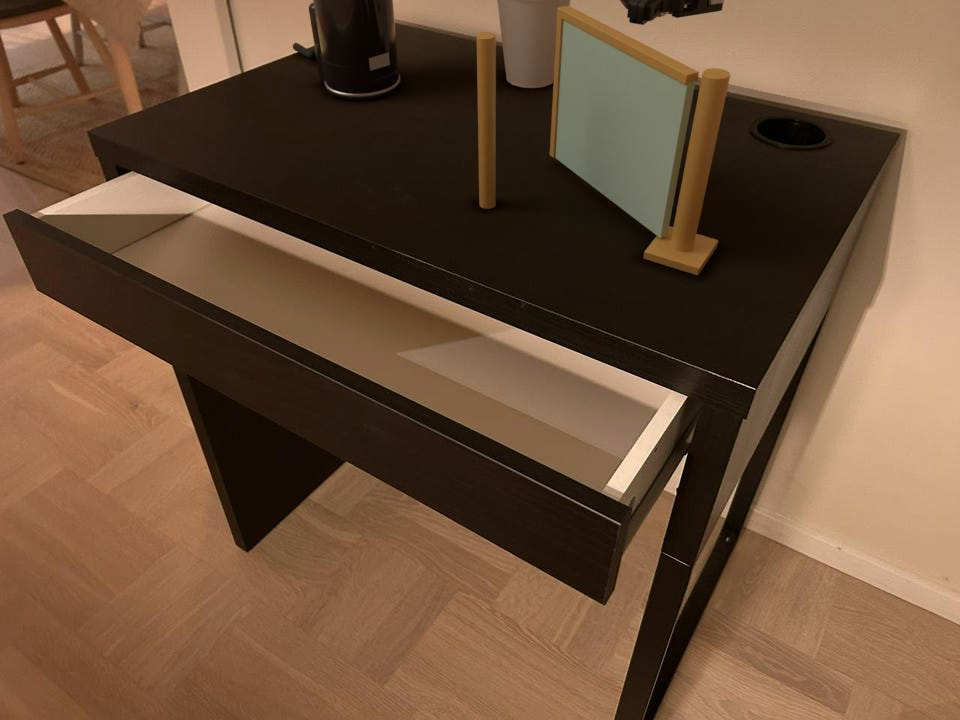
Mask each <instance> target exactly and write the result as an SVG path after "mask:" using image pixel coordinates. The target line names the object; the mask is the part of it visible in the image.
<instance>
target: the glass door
mask: <svg viewBox="0 0 960 720" xmlns="http://www.w3.org/2000/svg"><path fill="white" fill-rule="evenodd" d="M699 75H700V72H699V71H698V70H695V69H694V68H692V67H690V66H688V65H686V64H684V63H682V62H681V61H678V60H676V59H674V58H672V57H670V56H668V55H666V54H664V53H663V52H660V51H659V50H656V49H655V48H653V47H651V46H648V45H647V44H645V43H643V42H640V41H639V40H637V39H635V38H633V37H631V36H629V35H627V34H625V33H623V32H621V31H619V30H618V29H615V28H613V27H611V26H609V25H608V24H605V23H603V22H602V21H599V20H597V19H595V18H593V17H591V16H590V15H587V14H586V13H584V12H582V11H580V10H578V9H576V8H574V7H572V6H564V7H559V8H558V9H557V28H556V47H555V66H554V82H553V83H552V85H553V87H552V103H551V121H550V122H551V123H550V124H551V125H550V142H549V156H550V157H551V158H553V159H556V160H557V161H558V162H560V163H561V164H562V165H564V166H565V167H566V168H568V169H569V170H570V171H572V172H573V173H574V174H576V175H577V177H580V178H581V179H582V181H585V182H586V183H587V184H588V185H590V186H591V187H592V188H594V189H595V190H596V191H597V192H599V193H600V194H602V195H603V196H604V197H606V198H607V199H608V200H609V201H611V202H612V203H613V204H615V205H616V206H617V207H619V208H620V209H621V210H622V211H624V212H625V213H626V214H628V215H629V216H630V217H632V218H633V219H634V220H636V221H637V222H638V223H640V224H641V225H642V226H644V227H645V228H646V229H647V230H649V231H650V232H651V233H653V234H654V235H656V236H658V237H659V238H662V237H665V236H667V234H668V229H669V226H670V222H671V218H672V211H673V207H674V201H675V196H676V190H677V184H678V180H679V179H678V178H679V173H680V169H681V163H682V158H683V152H684V147H685V142H686V141H685V140H686V136H687V131H688V124H689V119H690V114H691V109H692V104H693V97H694V91H695V86H696V83H697V82H698V79H699Z"/></svg>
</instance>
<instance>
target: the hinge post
mask: <svg viewBox="0 0 960 720" xmlns="http://www.w3.org/2000/svg"><path fill="white" fill-rule="evenodd" d="M730 79H731V73H730V72H729V71H728V70H726V69H723V68H717V67H716V68H715V67H712V68H711V67H710V68H706V69H704V70H703V71H702V74H701V79H700V84H699V90H698V95H697V99H696V100H697V101H696V105H695V110H694V115H693V120H692V127H691V131H690V132H691V133H690V138H689V142H688V147H687V153H686V158H685V163H684V170H683V175H682V180H681V185H680V186H681V187H680V190H679V195H678V200H677V206H676V212H675V216H674V222H673V226H670V225H669V229H668V234H667V236H665V237H662V238H659V237H658V236H657V235H656V236H655V237H654V239H652V241H651V242H650V244H649V245H648V246H647V247H646V249H645V250H644V252H643V258H642V259H644V260H646V261H650V262H654V263H656V264H659V265H663V266H665V267H668V268H672V269H674V270H675V269H676V270H679V271H682V272H684V273H688V274H692V275H694V276H699V275H700V274H701V272H702V271H703V269H704V267H705V266H706V264H707V263H708V261H709V260H710V258H711V257H712V255H713V254H714V253H715V251H716V250H717V248H718V244H719V240H718V239H715V238H713V237H709V236H706V235H702V234H699V233H698V227H699V223H700V218H701V215H702V211H703V205H704V200H705V195H706V191H707V186H708V182H709V176H710V172H711V168H712V163H713V158H714V154H715V150H716V149H715V148H716V144H717V139H718V135H719V130H720V125H721V121H722V116H723V111H724V108H725V107H724V106H725V102H726V97H727V92H728V87H729V83H730Z"/></svg>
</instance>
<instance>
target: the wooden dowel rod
mask: <svg viewBox="0 0 960 720" xmlns="http://www.w3.org/2000/svg"><path fill="white" fill-rule="evenodd" d="M476 79H477V81H476V87H477V89H476V91H477V141H478V142H477V144H478V145H477V148H478V153H477V154H478V203H479V205H478V206H479V207H480V208H482V209H484V210H490V209H493V208H495V207H496V205H497V143H496V142H497V130H496V129H497V35H496V33H494V32H489V31H483V32H479V33H477V34H476Z"/></svg>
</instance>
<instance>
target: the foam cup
mask: <svg viewBox="0 0 960 720" xmlns="http://www.w3.org/2000/svg"><path fill="white" fill-rule="evenodd" d="M570 5H571V0H497V11H498V17H499V18H498V19H499V26H500V33H501V35H500V36H501V43H502V53H503V60H504V69H505V79H506V81H507V82H508V84H510V85H512V86H514V87H515V86H516V87H519V88H524V89H525V88H526V89H537V88H544V87H547V86H550V85H553V84H554V66H555V47H556V28H557V9H558V8H559V7H564V6H570ZM570 7H571V6H570Z"/></svg>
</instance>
